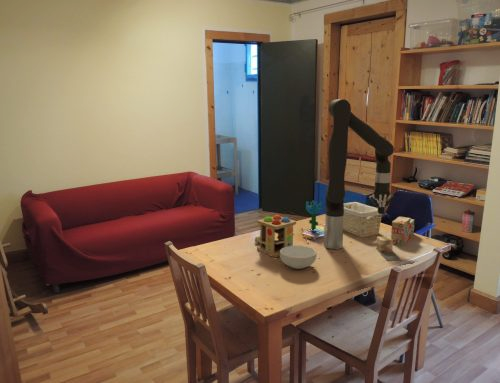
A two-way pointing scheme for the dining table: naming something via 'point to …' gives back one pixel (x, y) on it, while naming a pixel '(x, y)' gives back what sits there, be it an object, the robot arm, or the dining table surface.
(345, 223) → the storage basket
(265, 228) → the pounding bench toy
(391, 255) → the mat
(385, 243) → the cube
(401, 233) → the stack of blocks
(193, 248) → the dining table surface
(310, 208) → the toy flower
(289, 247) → the cereal bowl
